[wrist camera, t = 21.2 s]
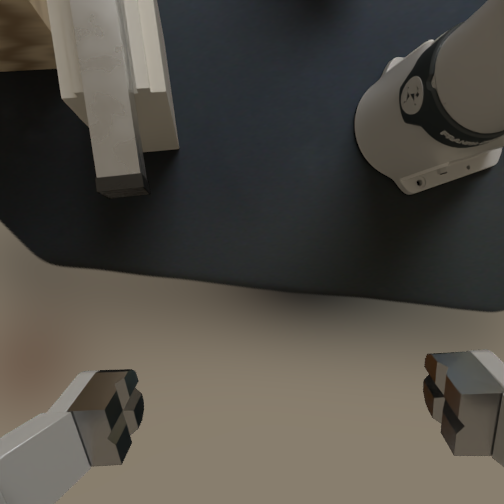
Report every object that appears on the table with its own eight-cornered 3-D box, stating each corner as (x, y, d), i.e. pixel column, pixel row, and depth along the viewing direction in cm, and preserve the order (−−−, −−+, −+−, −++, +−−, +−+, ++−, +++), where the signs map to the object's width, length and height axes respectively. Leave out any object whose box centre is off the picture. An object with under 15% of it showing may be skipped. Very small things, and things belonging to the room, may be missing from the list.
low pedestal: (163, 38, 43) (139, -95, 26) (179, 149, 43) (165, 86, 27) (97, 41, 42) (28, -97, 25) (114, 155, 42) (57, 93, 25)
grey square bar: (105, -109, 27) (92, -158, 23) (150, 194, 27) (143, 186, 24) (62, -110, 26) (43, -159, 23) (109, 198, 27) (97, 192, 24)
